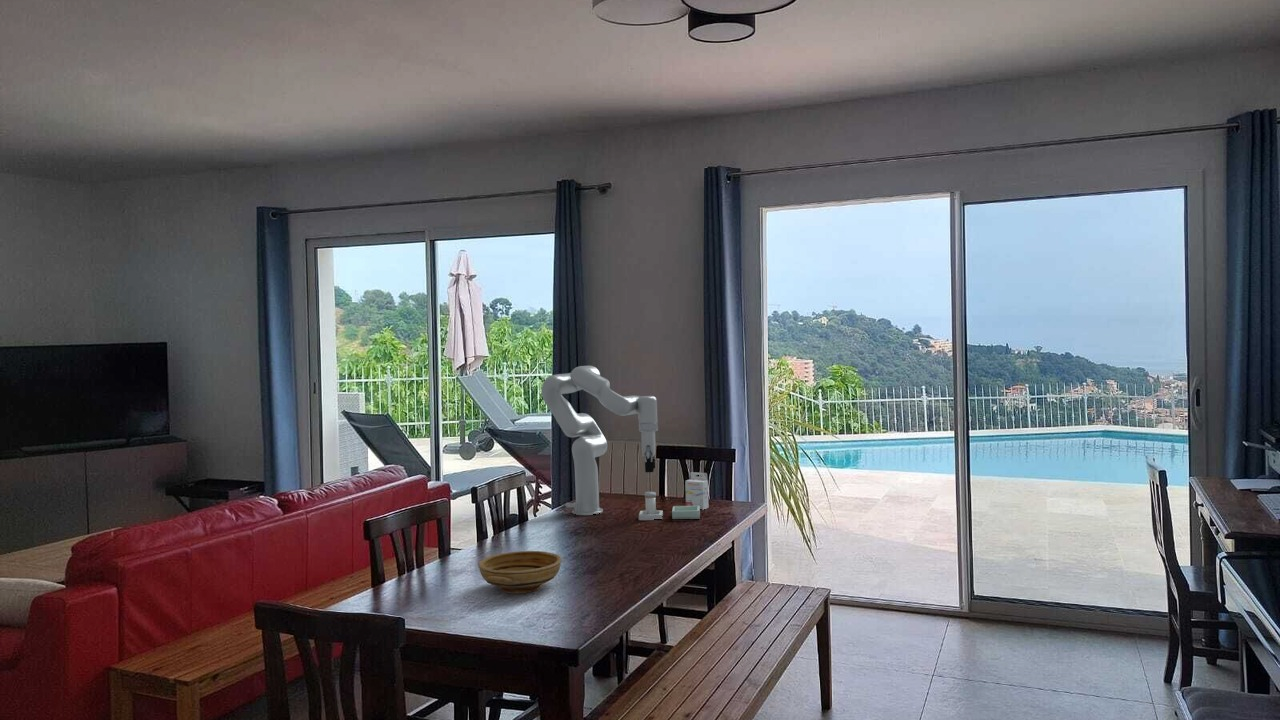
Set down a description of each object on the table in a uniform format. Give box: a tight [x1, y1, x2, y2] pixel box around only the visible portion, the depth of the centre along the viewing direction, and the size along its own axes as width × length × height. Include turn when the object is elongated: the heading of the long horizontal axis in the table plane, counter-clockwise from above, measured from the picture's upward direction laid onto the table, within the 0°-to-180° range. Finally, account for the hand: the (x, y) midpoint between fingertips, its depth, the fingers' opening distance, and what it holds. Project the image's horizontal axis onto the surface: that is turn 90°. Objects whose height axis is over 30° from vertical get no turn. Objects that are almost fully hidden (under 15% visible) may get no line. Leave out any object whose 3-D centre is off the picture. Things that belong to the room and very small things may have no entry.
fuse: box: [644, 491, 657, 515], centre depth 350 cm, size 4×4×10 cm
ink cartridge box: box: [684, 471, 709, 511], centre depth 366 cm, size 9×5×15 cm, turn 58°
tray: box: [671, 505, 701, 519], centre depth 349 cm, size 11×11×4 cm
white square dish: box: [638, 509, 664, 521], centre depth 350 cm, size 9×9×2 cm
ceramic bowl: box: [477, 550, 563, 594], centre depth 256 cm, size 30×24×8 cm
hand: (650, 470), depth 349 cm, fingers open, 9 cm apart
